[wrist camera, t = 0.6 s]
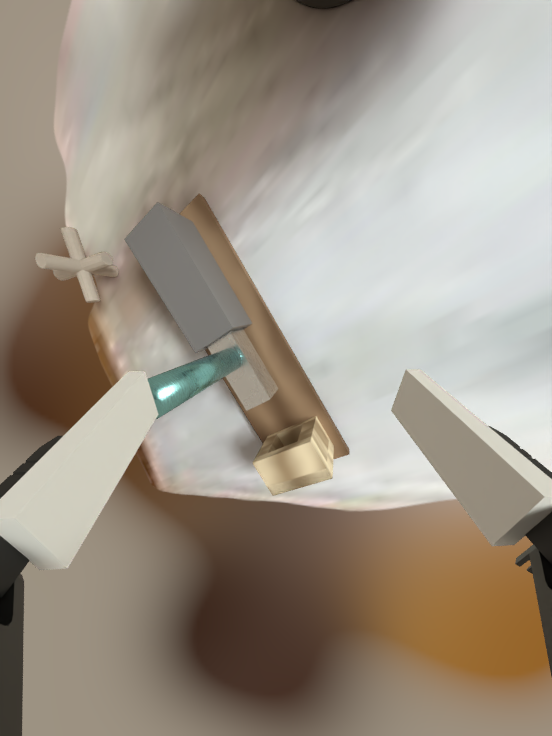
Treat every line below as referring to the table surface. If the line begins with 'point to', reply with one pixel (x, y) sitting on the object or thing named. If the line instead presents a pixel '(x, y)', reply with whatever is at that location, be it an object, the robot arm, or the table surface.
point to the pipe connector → (79, 264)
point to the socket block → (295, 457)
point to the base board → (264, 343)
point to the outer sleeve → (186, 277)
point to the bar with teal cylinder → (217, 375)
